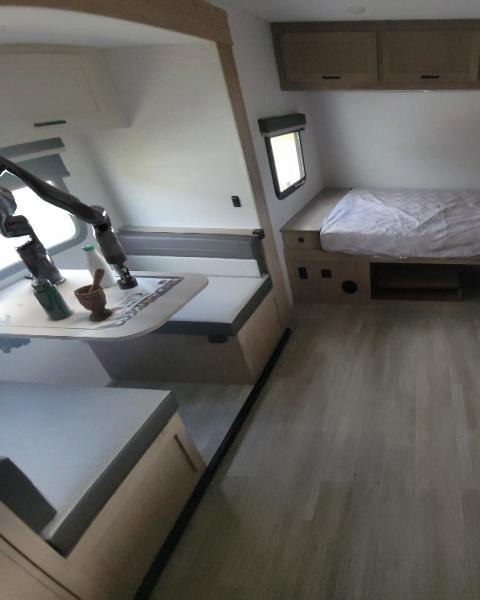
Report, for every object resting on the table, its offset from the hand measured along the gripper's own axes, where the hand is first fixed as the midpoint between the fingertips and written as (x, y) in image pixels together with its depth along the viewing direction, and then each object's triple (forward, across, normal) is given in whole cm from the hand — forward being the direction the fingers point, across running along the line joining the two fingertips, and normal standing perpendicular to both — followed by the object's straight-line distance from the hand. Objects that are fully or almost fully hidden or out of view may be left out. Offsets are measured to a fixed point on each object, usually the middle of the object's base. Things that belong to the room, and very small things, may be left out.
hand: (128, 284), depth 155 cm
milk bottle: (+4, +16, +5) cm, 18 cm away
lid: (+1, 0, 0) cm, 1 cm away
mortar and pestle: (+4, -14, +14) cm, 20 cm away
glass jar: (+4, -1, +26) cm, 26 cm away
